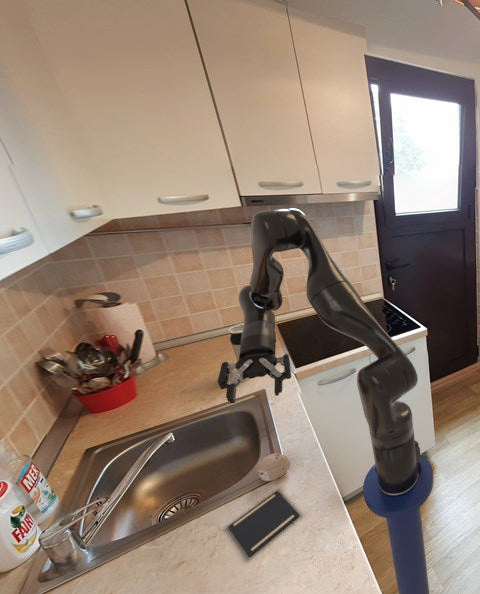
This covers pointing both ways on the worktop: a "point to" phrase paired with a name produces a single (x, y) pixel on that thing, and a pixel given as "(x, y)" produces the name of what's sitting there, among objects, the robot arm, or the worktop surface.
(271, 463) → the tan rounded piece
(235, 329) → the travel mug
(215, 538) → the worktop surface
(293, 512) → the slate mat
